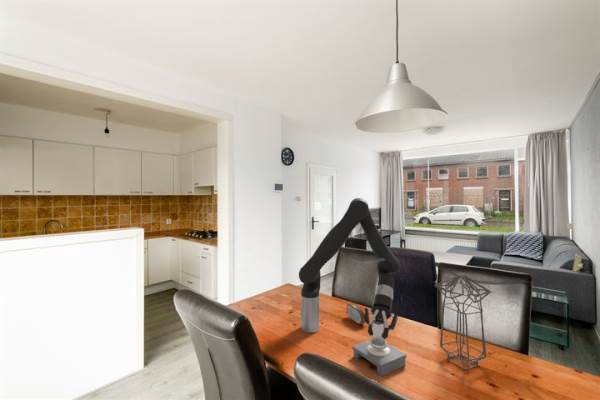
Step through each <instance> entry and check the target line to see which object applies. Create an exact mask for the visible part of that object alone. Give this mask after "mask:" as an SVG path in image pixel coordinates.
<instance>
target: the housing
mask: <svg viewBox="0 0 600 400" xmlns="http://www.w3.org/2000/svg"><path fill="white" fill-rule="evenodd" d="M384 329H385V323H384V322H383V321H380V320H374V321H372V336H371V339H372V340H371V341H370V345H371V346H372V347H373V348H376V349H385V348H386V347H387V344H388V342H387V341H386V339H384V338H383V335H384Z"/></svg>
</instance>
